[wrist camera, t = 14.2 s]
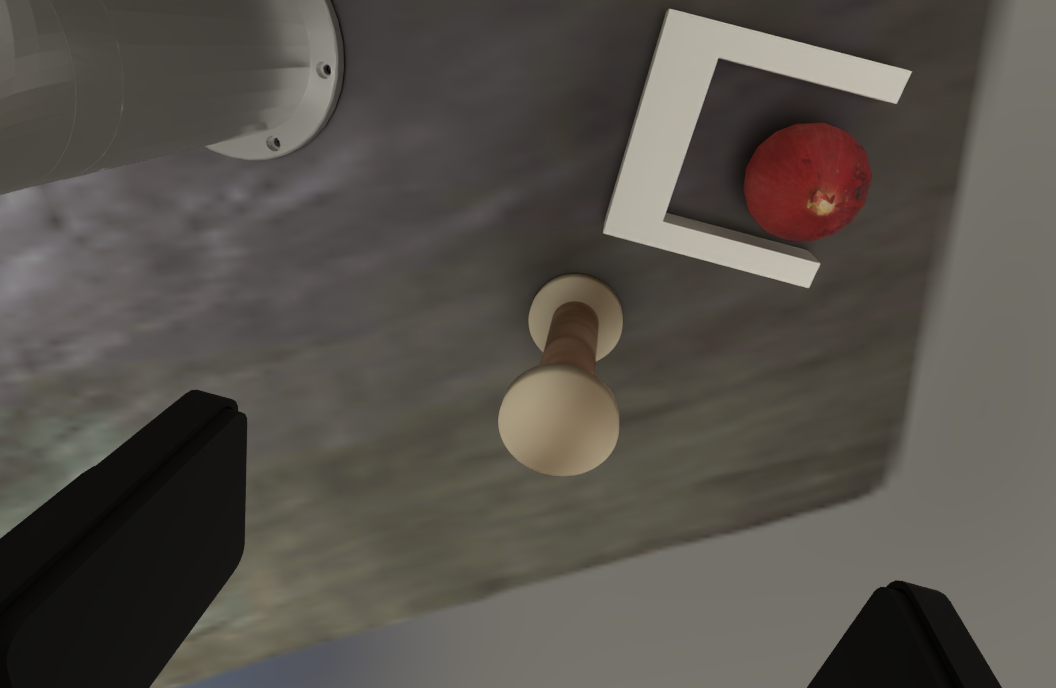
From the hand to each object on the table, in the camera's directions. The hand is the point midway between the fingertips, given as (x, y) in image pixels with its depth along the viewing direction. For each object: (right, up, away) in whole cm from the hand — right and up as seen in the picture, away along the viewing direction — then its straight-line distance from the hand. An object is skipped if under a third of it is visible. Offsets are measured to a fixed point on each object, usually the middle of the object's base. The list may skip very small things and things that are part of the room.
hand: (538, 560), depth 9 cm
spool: (+3, +5, +31) cm, 32 cm away
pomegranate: (+14, +13, +25) cm, 32 cm away
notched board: (+11, +14, +25) cm, 31 cm away
